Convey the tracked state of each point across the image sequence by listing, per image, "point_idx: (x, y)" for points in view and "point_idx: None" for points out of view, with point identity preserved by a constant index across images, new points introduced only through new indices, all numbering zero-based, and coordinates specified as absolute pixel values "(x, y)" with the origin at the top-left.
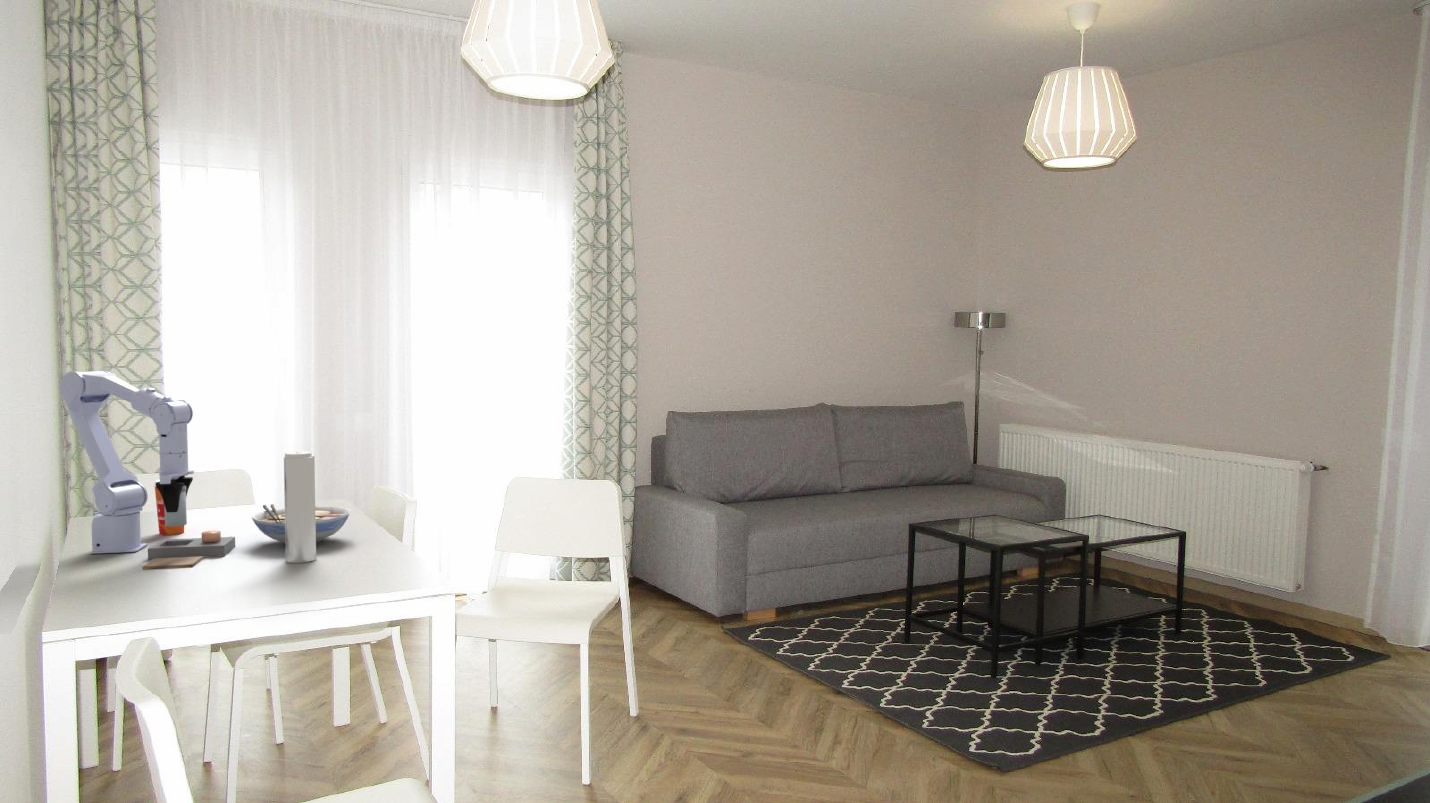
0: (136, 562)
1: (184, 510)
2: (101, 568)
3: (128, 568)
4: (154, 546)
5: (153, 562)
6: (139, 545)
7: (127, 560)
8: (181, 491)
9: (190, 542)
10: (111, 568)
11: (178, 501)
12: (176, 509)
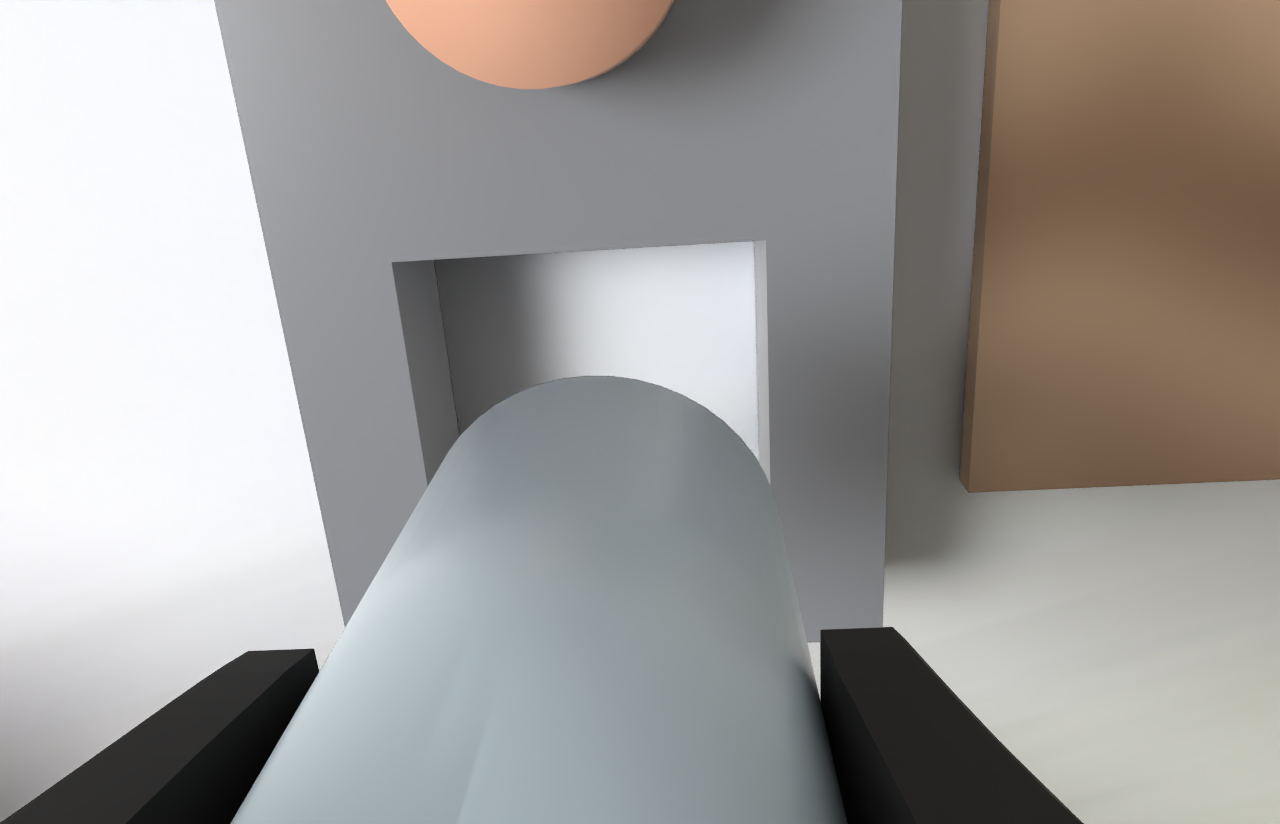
0: (984, 624)
1: (636, 518)
2: (1170, 817)
3: (1267, 604)
4: None
5: (1206, 430)
6: None
7: None
8: None
9: (409, 302)
10: (1204, 743)
11: (1006, 801)
12: (922, 668)
